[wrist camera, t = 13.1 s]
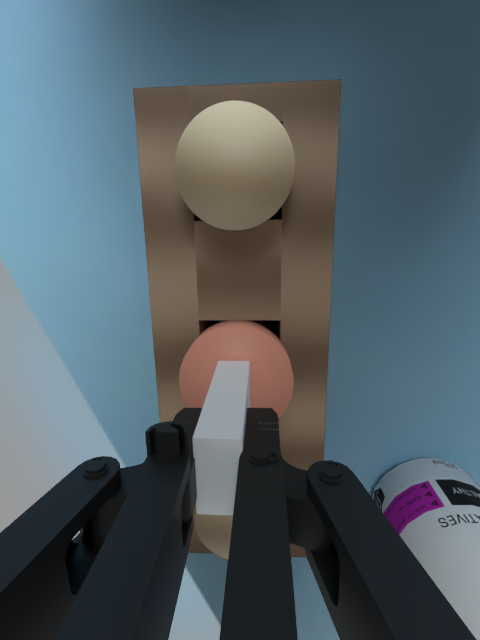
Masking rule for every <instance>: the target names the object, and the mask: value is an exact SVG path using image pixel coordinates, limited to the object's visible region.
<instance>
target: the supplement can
mask: <svg viewBox="0 0 480 640" xmlns="http://www.w3.org/2000/svg"><path fill="white" fill-rule="evenodd" d="M372 499H373V500H374V501H375V503H376V504H377V505H378V507H379V508H380V509H381V511H382V512H383V514H384V515H385V516H386V518H387V519H388V520H389V522H390V523H391V524H392V526H393V527H394V528H395V530H396V531H397V533H398V534H399V535H400V537H401V538H402V539H403V541H404V542H405V543H406V545H407V546H408V547H409V549H410V550H411V551H412V553H413V554H414V556H415V557H416V558H417V560H418V561H419V562H420V564H421V565H422V566H423V568H424V569H425V570H426V572H427V573H428V575H429V576H430V577H431V579H432V580H433V581H434V583H435V584H436V585H437V587H438V588H439V589H440V591H441V592H442V593H443V595H444V596H445V598H446V599H447V600H448V602H449V603H450V604H451V606H452V607H453V608H454V610H455V611H456V612H457V614H458V615H459V617H460V618H461V619H462V621H463V622H464V623H465V625H466V626H467V627H468V629H469V630H470V631H471V633H472V634H473V635H474V637H475V638H476V640H480V486H479V485H478V484H477V483H476V482H475V480H474V479H473V478H472V477H471V476H470V474H469V473H467V472H466V471H464V470H463V469H462V468H460V467H459V466H458V465H456V464H455V463H452V462H448V461H445V460H441V459H438V458H420V459H414V460H411V461H408V462H405V463H402V464H399V465H397V466H396V467H395V468H393V469H392V470H390V471H389V472H388V473H386V474H385V475H384V476H383V477H382V478H381V480H380V481H379V483H378V484H377V485H376V487H375V488H374V491H373V496H372Z"/></svg>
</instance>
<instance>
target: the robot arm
mask: <svg viewBox="0 0 480 640" xmlns="http://www.w3.org/2000/svg"><path fill="white" fill-rule="evenodd" d="M145 434H146V445H147V458H146V460H145V462H144V463H142V464H139V465H136V466H131V467H126V468H120V464H119V462H118V461H117V459H115V458H112V457H104V456H102V457H96V458H92V459H90V460H87V461H85V462H83V463H82V464H80V465H79V466H77V467H76V468H75V469H74V470H73V471H72V472H71V473H69V474H68V475H67V476H66V477H65V478H63V479H62V480H61V481H60V482H59V483H58V484H56V485H55V486H54V487H53V488H52V489H51V490H50V491H48V492H47V493H46V494H45V495H44V496H43V497H41V498H40V499H39V500H38V501H37V502H36V503H35V504H34V505H32V506H31V507H30V508H29V509H28V510H26V511H25V512H24V513H23V514H22V515H21V516H19V517H18V518H17V519H16V520H15V521H14V522H13V523H11V524H10V525H9V526H8V527H7V528H5V529H4V530H3V531H2V532H1V533H0V640H168V638H169V633H170V629H171V624H172V620H173V616H174V611H175V607H176V602H177V598H178V594H179V590H180V585H181V581H182V576H183V572H184V568H185V563H186V559H187V555H188V550H189V546H190V542H191V537H192V533H193V528H194V520H193V512H194V507H195V503H196V513H197V514H205V515H233V521H232V530H231V539H230V548H229V558H228V567H227V576H226V585H225V594H224V604H223V613H222V622H221V632H220V640H298V639H297V627H296V614H295V602H294V590H293V578H292V565H291V553H290V543H291V544H294V545H297V546H300V547H303V548H305V553H306V556H307V559H308V561H309V564H310V566H311V569H312V571H313V574H314V576H315V579H316V581H317V584H318V586H319V589H320V591H321V593H322V596H323V598H324V601H325V603H326V606H327V608H328V611H329V613H330V616H331V618H332V621H333V623H334V626H335V628H336V631H337V633H338V636H339V638H340V640H476V638H475V637H474V635H473V634H472V633H471V631H470V630H469V629H468V627H467V626H466V625H465V623H464V622H463V621H462V619H461V618H460V617H459V615H458V614H457V612H456V611H455V610H454V608H453V607H452V606H451V604H450V603H449V602H448V600H447V599H446V598H445V596H444V595H443V593H442V592H441V591H440V589H439V588H438V587H437V585H436V584H435V583H434V581H433V580H432V579H431V577H430V576H429V575H428V573H427V572H426V570H425V569H424V568H423V566H422V565H421V564H420V562H419V561H418V560H417V558H416V557H415V556H414V554H413V553H412V551H411V550H410V549H409V547H408V546H407V545H406V543H405V542H404V541H403V539H402V538H401V537H400V535H399V534H398V533H397V531H396V530H395V528H394V527H393V526H392V524H391V523H390V522H389V520H388V519H387V518H386V516H385V515H384V514H383V512H382V511H381V509H380V508H379V507H378V505H377V504H376V503H375V501H374V500H373V499H372V497H371V496H370V495H369V493H368V492H367V491H366V489H365V488H364V486H363V485H362V484H361V482H360V481H359V480H358V478H357V477H356V476H355V474H354V473H353V472H352V471H351V470H350V469H349V468H348V467H347V466H345V465H343V464H341V463H338V462H334V461H319V462H315V463H313V464H312V465H311V466H309V469H308V471H307V470H303V469H299V468H296V467H294V466H292V465H290V464H288V463H287V462H286V461H285V460H284V459H283V457H282V455H281V448H280V436H279V424H278V414H277V413H276V412H275V411H274V410H273V409H272V408H250V361H218V364H217V367H216V370H215V373H214V376H213V379H212V382H211V385H210V388H209V390H208V393H207V396H206V399H205V402H204V405H203V408H183V409H182V410H180V411H179V412H178V413H177V414H176V415H175V417H174V419H173V421H168V422H162V423H158V424H155V425H153V426H152V427H150V428H149V429H148V430H147V431H146V432H145ZM79 530H80V534H78V536H77V537H76V538H75V539H73V537H74V536H75V535H76V534H77V532H78V531H79ZM72 539H73V540H72Z"/></svg>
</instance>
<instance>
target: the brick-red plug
mask: <svg viewBox="0 0 480 640" xmlns="http://www.w3.org/2000/svg"><path fill="white" fill-rule="evenodd" d="M218 361H250V408H272V409H273V410H274V411H275V412H276V413H277V414H278V418H279V417H280V416H281V415H282V414H283V413H284V411H285V410H286V408H287V407H288V405H289V403H290V400H291V398H292V393H293V387H294V378H293V372H292V367H291V362H290V358H289V355H288V352H287V350H286V348H285V346H284V345H283V343H282V342H281V340H280V339H279V338H278V337H277V336H276V335H275V334H274V333H273V332H271V331H270V330H269V329H267V327H266V325H265V324H264V323H263V322H262V321H261V320H225V321H223V322H220V323H217V324H215V325H213V326H211V327H209V328H207V329H206V330H204V331H203V332H202V333H201V334H200V335H199V336H198V337H197V338H196V339H195V340H194V342H193V344H192V345H191V347H190V348H189V350H188V352H187V353H186V355H185V357H184V359H183V361H182V364H181V367H180V372H179V386H180V392H181V395H182V398H183V400H184V403H185V404H186V406H187V408H203V405H204V402H205V399H206V396H207V393H208V390H209V388H210V385H211V382H212V379H213V376H214V373H215V370H216V367H217V364H218Z"/></svg>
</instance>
